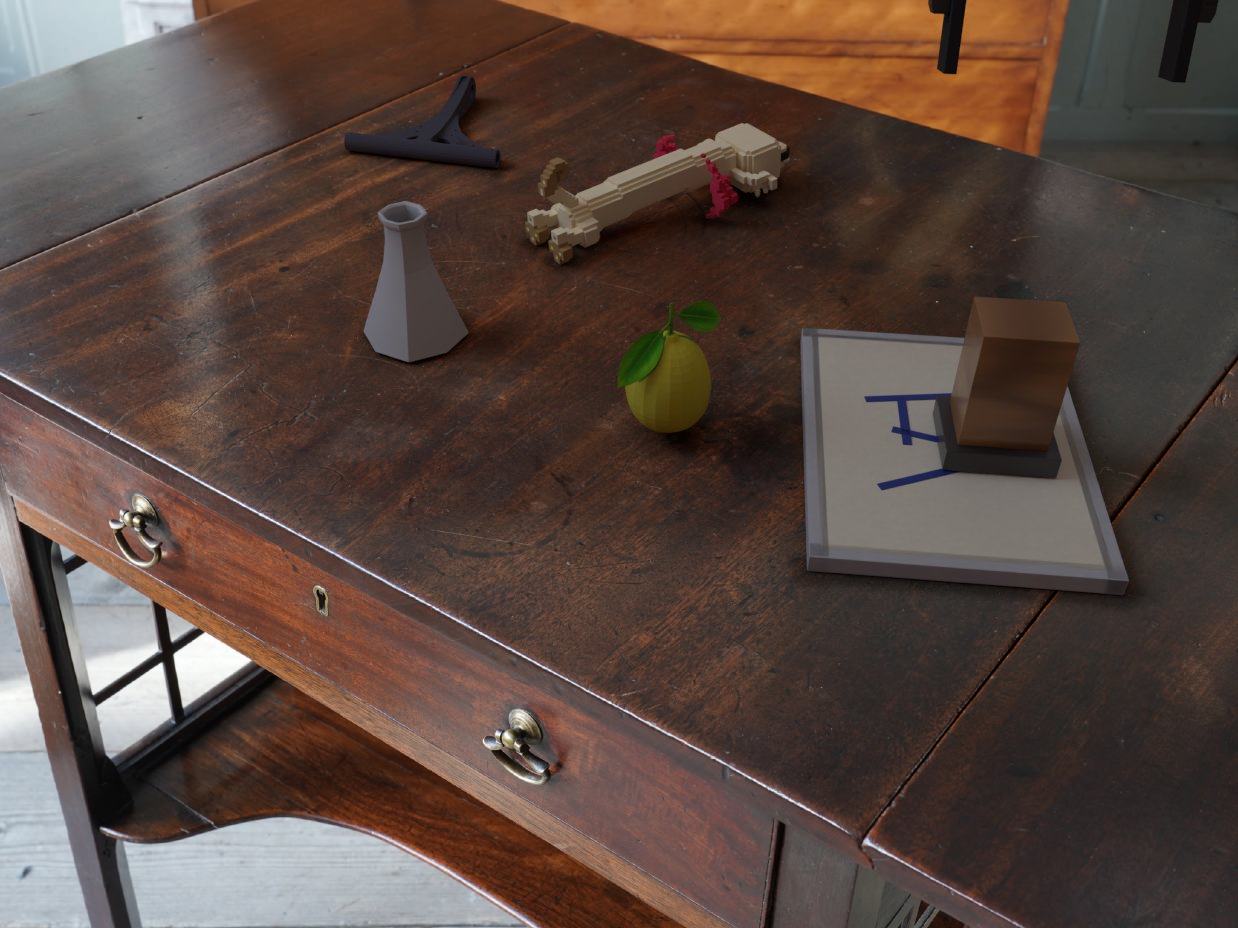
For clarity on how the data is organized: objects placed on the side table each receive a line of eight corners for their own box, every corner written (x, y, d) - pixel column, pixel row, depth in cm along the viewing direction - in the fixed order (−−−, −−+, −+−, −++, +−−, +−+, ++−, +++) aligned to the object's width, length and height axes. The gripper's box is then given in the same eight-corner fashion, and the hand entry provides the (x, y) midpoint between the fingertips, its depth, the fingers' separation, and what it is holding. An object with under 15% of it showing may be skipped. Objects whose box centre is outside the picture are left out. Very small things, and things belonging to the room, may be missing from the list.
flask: (346, 334, 89) (327, 211, 83) (425, 297, 93) (412, 177, 87) (406, 376, 85) (390, 250, 79) (486, 336, 89) (477, 213, 83)
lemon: (714, 402, 83) (724, 275, 77) (720, 457, 79) (730, 327, 72) (616, 401, 83) (618, 274, 77) (616, 456, 79) (618, 326, 72)
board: (1050, 357, 88) (1054, 342, 87) (1123, 595, 70) (1129, 579, 69) (800, 341, 89) (802, 326, 88) (806, 571, 71) (809, 555, 70)
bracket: (540, 105, 121) (539, 78, 119) (495, 171, 110) (494, 142, 108) (402, 92, 123) (399, 65, 121) (345, 154, 112) (341, 126, 110)
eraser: (1040, 421, 80) (1076, 296, 74) (1056, 479, 76) (1096, 350, 70) (932, 413, 81) (959, 288, 75) (942, 470, 76) (972, 342, 70)
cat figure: (580, 292, 96) (818, 187, 106) (571, 194, 90) (824, 93, 100) (515, 240, 103) (745, 145, 112) (502, 145, 97) (747, 54, 106)
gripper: (1331, -315, 69) (1242, 76, 78) (886, -323, 70) (848, 61, 79) (1398, -341, 62) (1292, 91, 71) (904, -349, 64) (860, 75, 72)
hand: (1058, 76), depth 75 cm, fingers open, 13 cm apart
